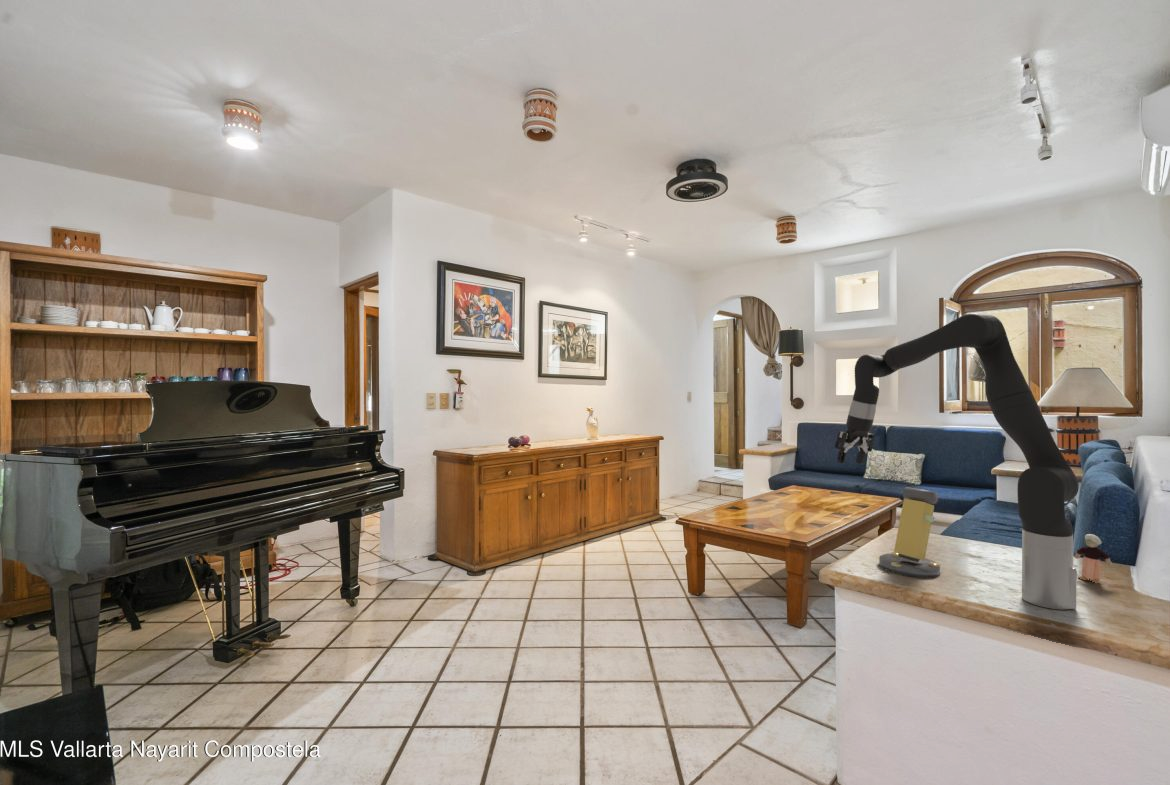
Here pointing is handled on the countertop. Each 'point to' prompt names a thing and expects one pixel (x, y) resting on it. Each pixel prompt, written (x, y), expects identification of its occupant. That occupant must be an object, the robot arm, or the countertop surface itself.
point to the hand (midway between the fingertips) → (850, 462)
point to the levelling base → (909, 566)
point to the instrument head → (915, 523)
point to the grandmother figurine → (1092, 558)
